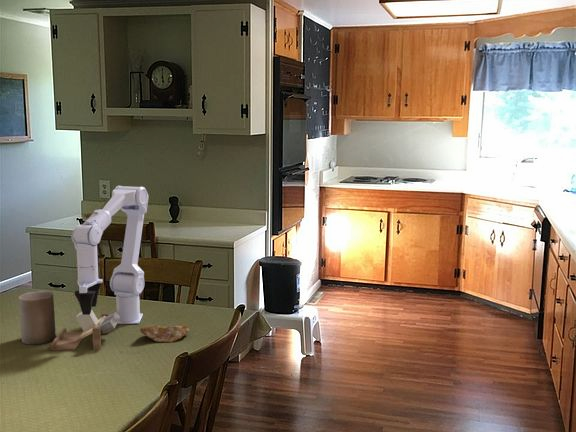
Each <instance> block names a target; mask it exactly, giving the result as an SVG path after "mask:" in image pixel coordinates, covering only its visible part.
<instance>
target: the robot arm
mask: <svg viewBox="0 0 576 432" xmlns="http://www.w3.org/2000/svg"><path fill="white" fill-rule="evenodd" d="M149 197H150V196H149V194H148V191H147V189H146V187H145V186H130V185H129V186H128V185H127V186H125V185H124V186H122V185H117V186H116V187H115V188H114V189H113V190H112V192H111V198H110V199H109V200H108V201H107V203H106V204H104V205H105V206H104V207H102V209H95V210H94V211H93V213H92V214H91V215H90V216H89V217H88V218H87V219H86V220H85V221H84V222H83V223H82V224H78V225H77V226H75V227H74V228H73V230H72V233H71V237H70V238H71V240H72V243H73V244H74V249H75V251H76V263H77V267H76V268H77V285H78V288H79V289H78V290H75V291H74V296H75V297H76V299H77V302H78V303H79V306H80V310H81V312H82V314H83V315H90V314H91V309H92V308H93V307H94V308H95V307H97V302H98V296H99V292H100V288H101V287H102V285H103V278H99V264H98V263H99V261H98V260H99V259H98V244H99V243H100V242H101V239H102V235H103V234H104V231H105V230H106V229H107V228H108V227H109V226H110V225H111V223H112V217H113V216H114V215H115V214H116V213H118V211H122V212H123V213H125V214H126V216H127V217H126V226H125V233H124V239H123V247H122V255H121V261H120V262H121V263H120V264H119V265H117V266H115V268H113V271H112V275H111V277H110V280H109V287H110V289H111V291H112V292H114V293H113V294H114V296H115V298H116V299H115V301H116V312H117V313H118V315H119V317H120V319H119V321H118V323H117V325H130V324H131V325H132V324H134V325H135V324H140V322H141V319H142V318H143V315H144V314H143V313H141V311H140V310H141V309H140V308H141V307H140V305H141V303H140V294H142V292H143V290H144V288H145V272H144V270H143V269H142V268H141V267H140V266H139V265H138V262H139V255H140V248H141V241H142V234H143V226H144V220H145V214H147V212H148V211H147V210H148V205H149V204H148V203H149ZM92 310H93V309H92Z"/></svg>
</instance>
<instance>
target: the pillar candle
mask: <svg viewBox="0 0 576 432" xmlns="http://www.w3.org/2000/svg"><path fill="white" fill-rule="evenodd" d="M54 301H55V300H54V293H53V292H52V291H48V290H36V291H29V292H26V293H22V294H20V295H19V296H18V304H19V305H18V306H19V319H20V332H21V333H20V334H21V341H22V343H23V344H25V345H41V344H45V343H49V342H53V341H54V339H55V338H56V337H57V334H56V318H55V302H54Z"/></svg>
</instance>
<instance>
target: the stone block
mask: <svg viewBox="0 0 576 432" xmlns="http://www.w3.org/2000/svg"><path fill="white" fill-rule="evenodd" d="M74 318H75V320H76V322H78V324H79V326H80V327H81V329H82V332H83V331H84V332H85V331H87V330H89V329H90V328H92V327H94V326H96V325H97V323H98V322H99V320H98V319H99V318H98V317H97V315H96V314H95V312H94V311H93V309H91V314H90V315H83V314H82V311H80V312H78V314H77V315H76V316H75V317H74Z"/></svg>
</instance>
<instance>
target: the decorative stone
mask: <svg viewBox="0 0 576 432" xmlns="http://www.w3.org/2000/svg"><path fill="white" fill-rule="evenodd" d="M139 331H140V333H141V334H143V335H144V336H146V337H147V338H149V339H151V340H153V341H155V342H158V343H174V342H176V341H178V340H181V339H182V338H183V337H184V336H186V335H187V334H188V333H189V332H190V328H189V326H186V325H174V326H172V325H171V326H165V327H164V326H161V325H147V326H143V327H141V328H140V329H139Z"/></svg>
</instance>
